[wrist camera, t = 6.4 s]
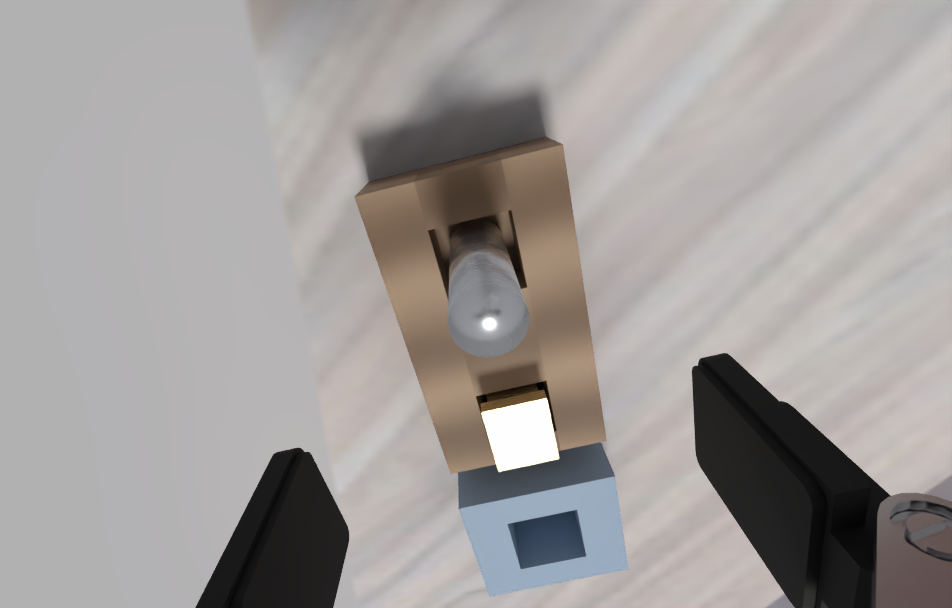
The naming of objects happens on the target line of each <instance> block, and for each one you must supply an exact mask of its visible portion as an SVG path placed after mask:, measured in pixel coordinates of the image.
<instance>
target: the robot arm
mask: <svg viewBox="0 0 952 608" xmlns="http://www.w3.org/2000/svg"><path fill="white" fill-rule="evenodd" d="M692 381H693V403H694V425H695V447H696V456H697V460H698V463H699V465H700V467H701V469H702V470H703V472H704V473H705V475H706V476H707V478H708V479H709V481H710V482H711V484H712V485H713V487H714V488H715V490H716V491H717V493H718V494H719V496H720V497H721V499H722V500H723V502H724V503H725V505H726V506H727V508H728V509H729V511H730V512H731V514H732V515H733V517H734V518H735V520H736V521H737V523H738V524H739V526H740V527H741V529H742V530H743V532H744V533H745V535H746V536H747V538H748V539H749V541H750V542H751V544H752V545H753V547H754V548H755V550H756V551H757V553H758V554H759V556H760V557H761V559H762V560H763V562H764V563H765V565H766V566H767V568H768V569H769V571H770V572H771V574H772V575H773V577H774V578H775V580H776V581H777V583H778V584H779V586H780V587H781V589H782V590H783V592H784V593H785V595H786V596H787V598H788V599H789V601H790V602H791V603H792V604H793V606H794V607H795V608H952V502H951V501H948V500H945V499H942V498H939V497H936V496H932V495H926V494H920V493H900V494H896V495H893V496H890V495H889V494H888V493H887V492H886V491H885V490H884V489H883V488H881V487H880V486H879V485H878V484H877V483H876V482H875V481H874V480H873V479H872V478H870V477H869V476H868V475H867V474H866V473H865V472H864V471H863V470H862V469H861V468H859V467H858V466H857V465H856V464H855V463H854V462H853V461H852V460H851V459H850V458H848V457H847V456H846V455H845V454H844V453H843V452H842V451H841V450H840V449H839V448H837V447H836V446H835V445H834V444H833V443H832V442H831V441H830V440H829V439H828V438H827V437H825V436H824V435H823V434H822V433H821V432H820V431H819V430H818V429H817V428H816V427H814V426H813V425H812V424H811V423H810V422H809V421H808V420H807V419H806V418H805V417H803V416H802V415H801V414H800V413H799V412H798V411H797V410H796V409H795V408H794V407H792V406H791V405H789V404H788V403H786V402H782V401H781V402H779V401H778V400H777V399H776V398H775V397H774V396H773V395H772V394H771V393H770V392H769V391H768V390H767V389H765V388H764V387H763V386H762V385H761V384H760V383H759V382H758V381H757V380H756V379H755V378H754V377H753V376H752V375H750V374H749V373H748V372H747V371H746V370H745V369H744V368H743V367H742V366H741V365H740V364H739V363H738V362H736V361H735V360H734V359H733V358H732V357H731V356H730V355H728V354H727V353H723V354H718V355H714V356H709V357H705V358H701V359H700V360H699V363H698V366H694V367H693V369H692ZM348 543H349V530H348V527H347V524H346V522H345V520H344V518H343V516H342V514H341V512H340V510H339V508H338V506H337V504H336V502H335V501H334V499H333V497H332V495H331V493H330V491H329V489H328V487H327V485H326V483H325V481H324V479H323V477H322V475H321V473H320V471H319V469H318V467H317V465H316V463H315V461H314V459H313V457H312V455H311V454H310V453H309V452H304V451H303V450H302V449H301V448H294V449H290V450H285V451H281V452H277V453H275V454H274V455H273V456H272V458H271V460H270V462H269V464H268V466H267V468H266V470H265V472H264V474H263V476H262V478H261V480H260V482H259V484H258V485H257V488H256V489H255V491H254V493H253V496H252V497H251V500H250V501H249V503H248V505H247V507H246V509H245V511H244V513H243V515H242V517H241V519H240V521H239V523H238V525H237V527H236V529H235V531H234V533H233V535H232V537H231V539H230V541H229V543H228V545H227V547H226V549H225V551H224V552H223V554H222V556H221V558H220V560H219V562H218V564H217V566H216V568H215V570H214V572H213V574H212V576H211V578H210V580H209V582H208V584H207V586H206V588H205V590H204V592H203V594H202V596H201V598H200V600H199V602H198V604H197V606H196V608H333V606H334V602H335V598H336V593H337V589H338V585H339V581H340V577H341V573H342V568H343V564H344V560H345V556H346V551H347V547H348Z"/></svg>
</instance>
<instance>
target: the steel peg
mask: <svg viewBox="0 0 952 608" xmlns="http://www.w3.org/2000/svg"><path fill="white" fill-rule="evenodd" d="M528 327H529V312H528V309H527V306H526V303H525V300H524V297H523V294H522V291H521V288H520V285H519V283H518V280H517V277H516V274H515V271H514V268H513V265H512V262H511V259H510V256H509V254H508V251H507V248H506V245H505V242H504V239H503V236H502V233H501V231H500V229H499V227H498V226H497V225H496V224H495V223H494V222H493V221H491V220H489V219H487V218H485V217H481V218H477V219H473V220H469V221H464V222H460V223H458V224H457V226H456V227H455V228H454V230H453V232H452V234H451V238H450V263H449V301H448V328H449V332H450V335H451V337H452V339H453V340H454V342H455V343H456V344H457V345H458V346H459V347H460V348H461V349H462V350H464V351H465V352H467V353H469V354H472V355H475V356H479V357H496V356H500V355H503V354H506V353H508V352H510V351H511V350H513V349H514V348H516V347H517V346H518V345H519V344H520V343H521V341H522V340H523V339H524V337H525V335H526V333H527V331H528Z"/></svg>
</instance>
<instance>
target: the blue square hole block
mask: <svg viewBox="0 0 952 608" xmlns="http://www.w3.org/2000/svg"><path fill="white" fill-rule="evenodd" d="M558 454H559V459H557V460H553V461H548V462H543V463H538V464H534V465H529V466H524V467H520V468H515V469H510V470H505V471H501V472H498V468H497V465H496V464H495V465H491V466H486V467H481V468H477V469H472V470H467V471H462V472H458V485H459V511H460V514H461V516H462V519H463V522H464V525H465V528H466V531H467V534H468V536H469V539H470V542H471V545H472V548H473V551H474V553H475V556H476V559H477V562H478V565H479V568H480V570H481V573H482V576H483V579H484V582H485V585H486V587H487V590H488V593H489V596H494V595H499V594H504V593H510V592H515V591H520V590H525V589H530V588H535V587H540V586H545V585H550V584H556V583H561V582H566V581H571V580H576V579H581V578H586V577H591V576H596V575H601V574H607V573H612V572H617V571H622V570H627V569H628V563H627V556H626V549H625V542H624V535H623V528H622V522H621V515H620V508H619V501H618V494H617V487H616V480H615V475H614V473H613V470H612V468H611V466H610V463H609V461H608V459H607V456H606V454H605V451H604V449H603V447H602V444H601V442H599V443H594V444H589V445H585V446H580V447H575V448H571V449H566V450H561V451H558Z"/></svg>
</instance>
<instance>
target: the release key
mask: <svg viewBox="0 0 952 608" xmlns="http://www.w3.org/2000/svg"><path fill="white" fill-rule="evenodd" d="M481 413H482V416H483V420H484V423H485V427H486V430H487V434H488V437H489V441H490V444H491V448H492V451H493V455H494V458H495V462H496V465H497V468H498V472H501V471H505V470H510V469H515V468H520V467H524V466H529V465H534V464H538V463H543V462H548V461H553V460H557V459H559V454H558V450H557V445H556V440H555V435H554V430H553V426H552V421H551V416H550V411H549V406H548V402H547V397H546V394H545V391H544V390H540V391H538V389H537V385H536V383H533V384H529V385H524V386H520V387H515V388H511V389H506V390H502V391H497V392H493V393H488V394H487V402H485V403H481Z"/></svg>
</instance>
